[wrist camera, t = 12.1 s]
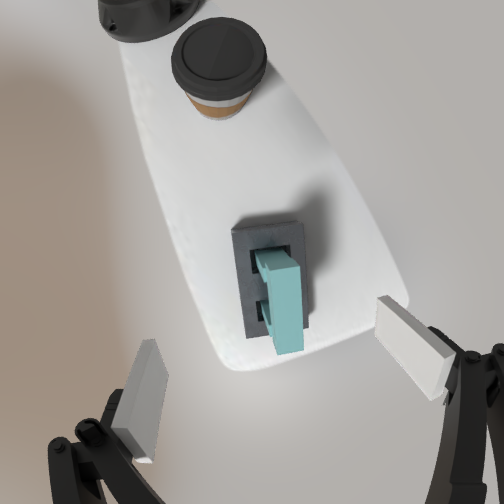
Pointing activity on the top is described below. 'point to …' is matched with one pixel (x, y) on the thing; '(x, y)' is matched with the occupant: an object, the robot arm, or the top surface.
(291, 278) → the teal u-shaped block
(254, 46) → the coffee cup
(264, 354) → the top surface
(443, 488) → the robot arm
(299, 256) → the grey slotted slab
